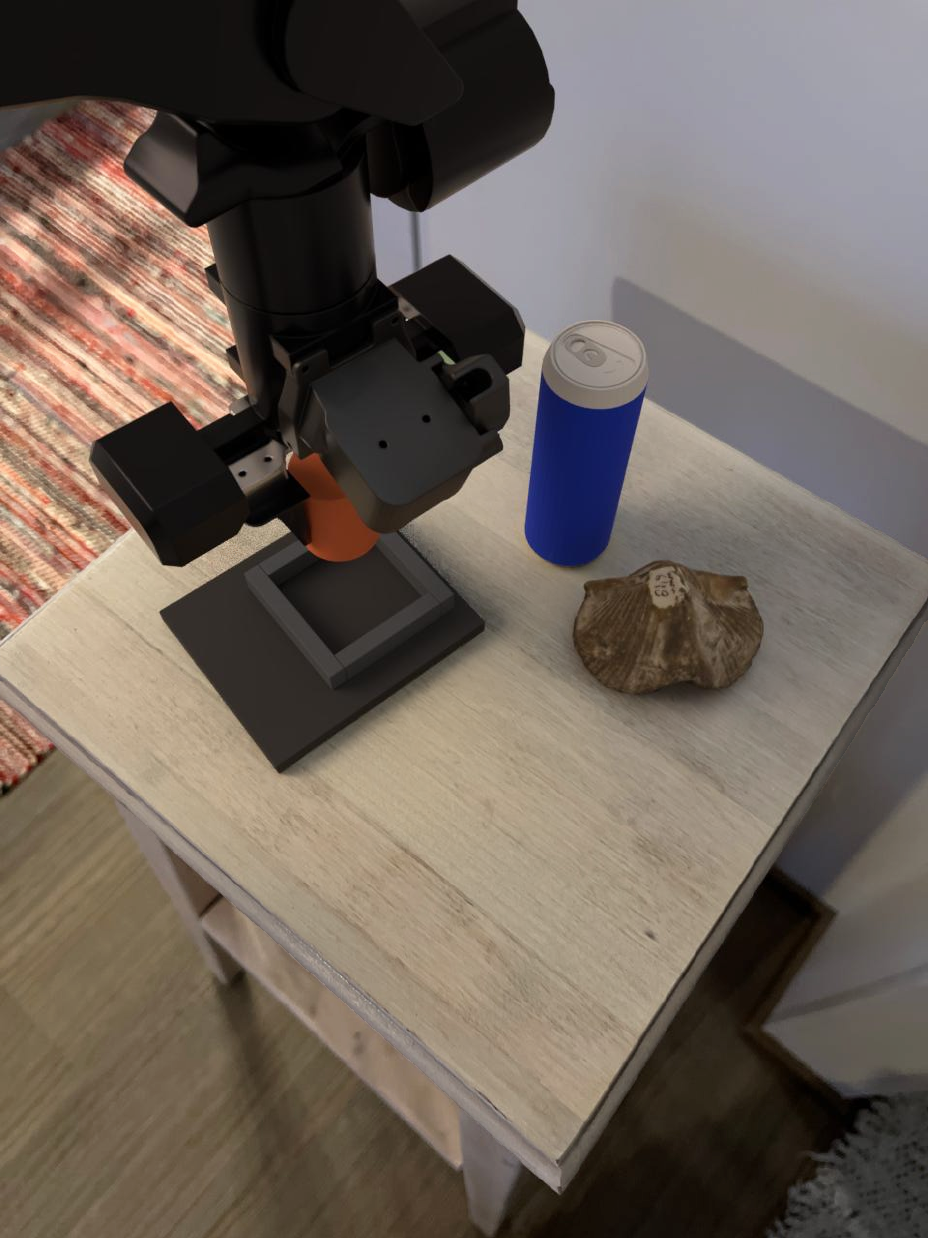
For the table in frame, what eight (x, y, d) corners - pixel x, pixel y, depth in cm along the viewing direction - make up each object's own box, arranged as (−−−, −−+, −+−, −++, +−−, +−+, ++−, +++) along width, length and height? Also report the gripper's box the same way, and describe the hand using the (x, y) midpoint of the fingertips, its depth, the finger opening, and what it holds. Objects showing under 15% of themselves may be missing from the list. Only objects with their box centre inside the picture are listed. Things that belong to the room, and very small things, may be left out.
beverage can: (626, 533, 60) (674, 350, 47) (573, 587, 58) (608, 412, 45) (559, 488, 62) (588, 299, 49) (506, 539, 60) (521, 356, 47)
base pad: (279, 774, 52) (271, 756, 50) (162, 620, 57) (151, 596, 55) (485, 630, 57) (486, 607, 54) (361, 498, 61) (358, 472, 59)
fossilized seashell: (770, 573, 56) (593, 554, 58) (776, 565, 49) (577, 544, 52) (752, 706, 56) (577, 681, 58) (756, 715, 49) (559, 687, 52)
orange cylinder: (331, 576, 49) (319, 515, 44) (285, 524, 50) (270, 460, 46) (396, 534, 50) (391, 471, 46) (350, 485, 52) (341, 420, 47)
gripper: (187, 533, 30) (268, 742, 43) (637, 272, 36) (585, 526, 49) (19, 325, 34) (141, 573, 47) (446, 123, 40) (447, 394, 54)
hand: (338, 517), depth 49 cm, fingers closed on orange cylinder, 4 cm apart
